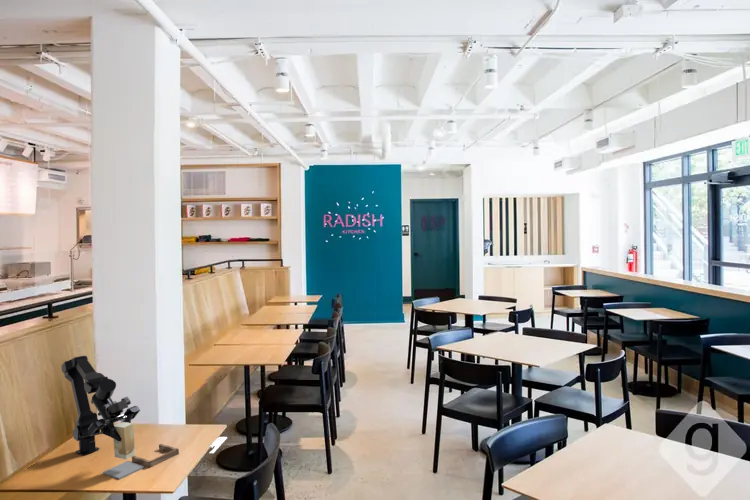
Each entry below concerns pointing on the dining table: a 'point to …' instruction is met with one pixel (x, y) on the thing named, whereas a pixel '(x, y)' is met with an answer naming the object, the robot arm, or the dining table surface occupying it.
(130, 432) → the skincare box
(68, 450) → the dining table surface
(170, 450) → the walnut cubby
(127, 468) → the slate coaster
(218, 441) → the white meat cleaver
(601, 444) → the dining table surface
